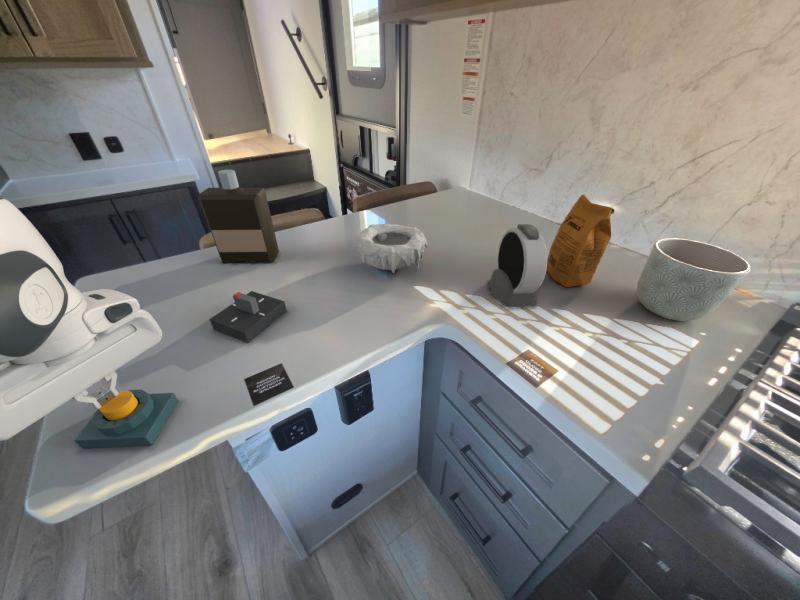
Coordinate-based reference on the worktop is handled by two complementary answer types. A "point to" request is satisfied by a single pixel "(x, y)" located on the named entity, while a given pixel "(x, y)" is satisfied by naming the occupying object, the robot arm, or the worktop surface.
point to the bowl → (391, 246)
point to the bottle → (239, 221)
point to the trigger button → (120, 406)
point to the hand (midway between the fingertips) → (106, 400)
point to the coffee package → (580, 243)
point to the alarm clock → (519, 266)
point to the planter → (688, 278)
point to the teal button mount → (130, 423)
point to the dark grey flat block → (248, 318)
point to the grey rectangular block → (246, 303)
